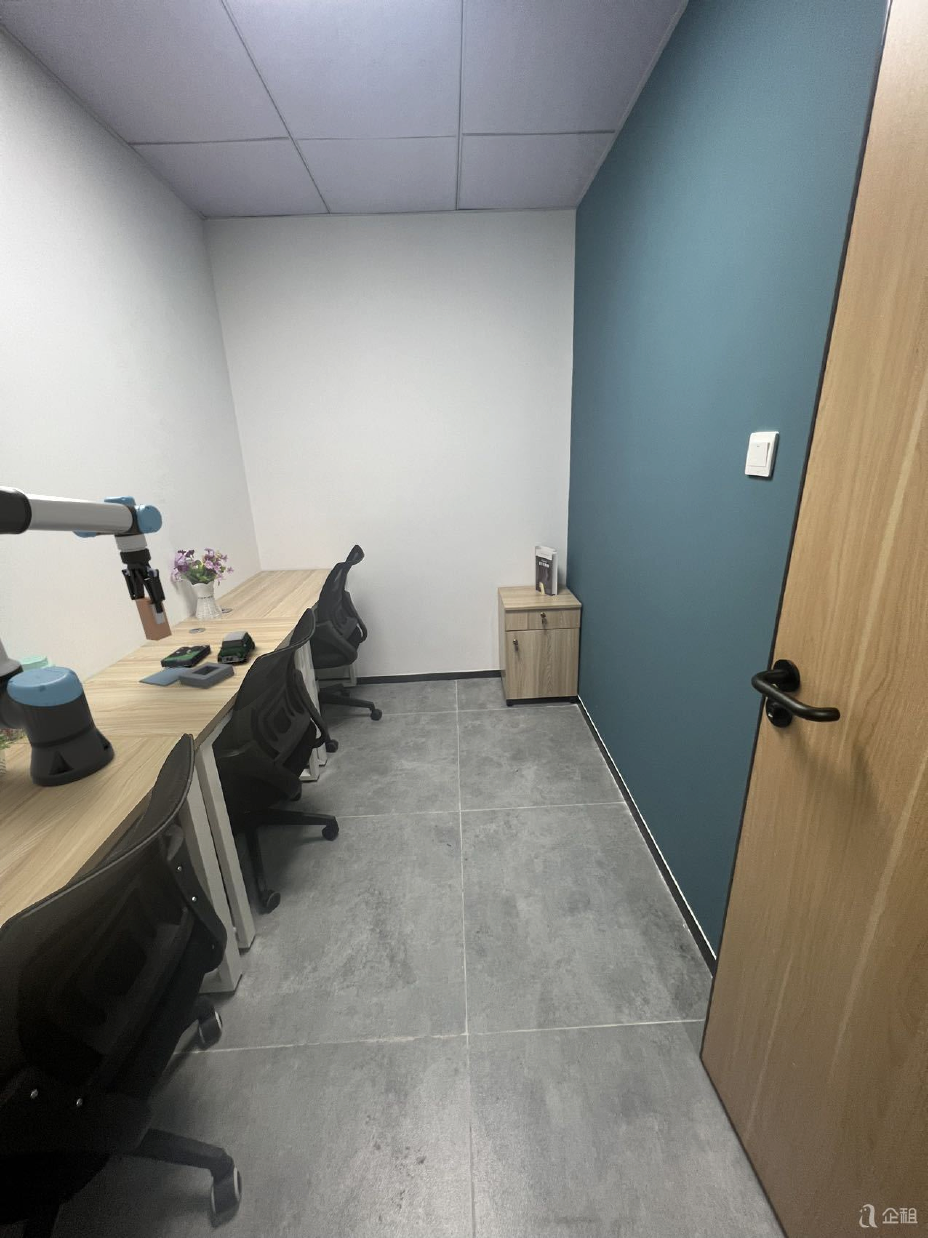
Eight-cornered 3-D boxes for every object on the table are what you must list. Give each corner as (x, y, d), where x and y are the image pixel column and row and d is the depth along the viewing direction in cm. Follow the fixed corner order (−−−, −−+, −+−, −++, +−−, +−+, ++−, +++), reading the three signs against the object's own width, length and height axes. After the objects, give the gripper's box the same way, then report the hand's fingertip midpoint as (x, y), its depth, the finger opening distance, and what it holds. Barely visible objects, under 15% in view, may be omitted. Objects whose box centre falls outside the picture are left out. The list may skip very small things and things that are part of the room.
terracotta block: (157, 640, 152) (146, 601, 147) (146, 639, 154) (135, 600, 149) (171, 635, 156) (161, 596, 152) (161, 633, 158) (150, 595, 154)
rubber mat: (165, 686, 151) (165, 685, 151) (139, 682, 156) (139, 680, 156) (198, 670, 162) (197, 669, 162) (172, 667, 166) (172, 665, 166)
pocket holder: (206, 688, 148) (203, 679, 147) (180, 684, 152) (178, 675, 151) (234, 673, 158) (232, 665, 157) (209, 670, 162) (207, 661, 161)
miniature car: (217, 668, 163) (211, 646, 161) (231, 649, 180) (226, 629, 177) (245, 665, 164) (240, 643, 162) (256, 646, 181) (252, 626, 179)
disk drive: (183, 653, 178) (161, 668, 164) (181, 646, 178) (159, 660, 163) (211, 651, 179) (192, 666, 164) (210, 644, 178) (190, 658, 164)
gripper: (166, 547, 145) (185, 620, 153) (125, 546, 152) (146, 616, 160) (142, 552, 139) (164, 628, 146) (101, 551, 145) (124, 623, 153)
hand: (154, 621), depth 153 cm, fingers closed on terracotta block, 5 cm apart
